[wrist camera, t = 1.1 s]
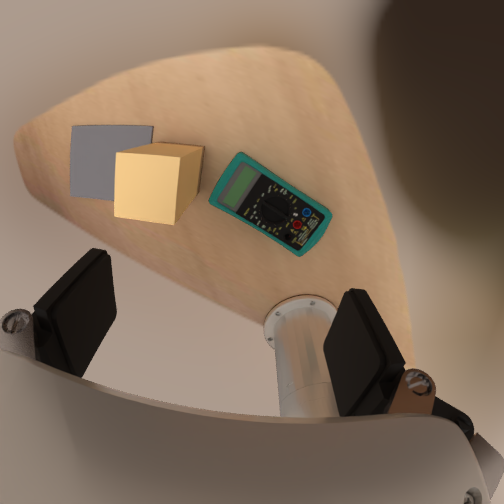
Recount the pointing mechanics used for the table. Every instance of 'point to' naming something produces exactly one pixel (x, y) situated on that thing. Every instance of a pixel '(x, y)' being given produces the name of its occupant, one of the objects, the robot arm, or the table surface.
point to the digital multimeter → (270, 205)
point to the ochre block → (157, 181)
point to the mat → (101, 156)
